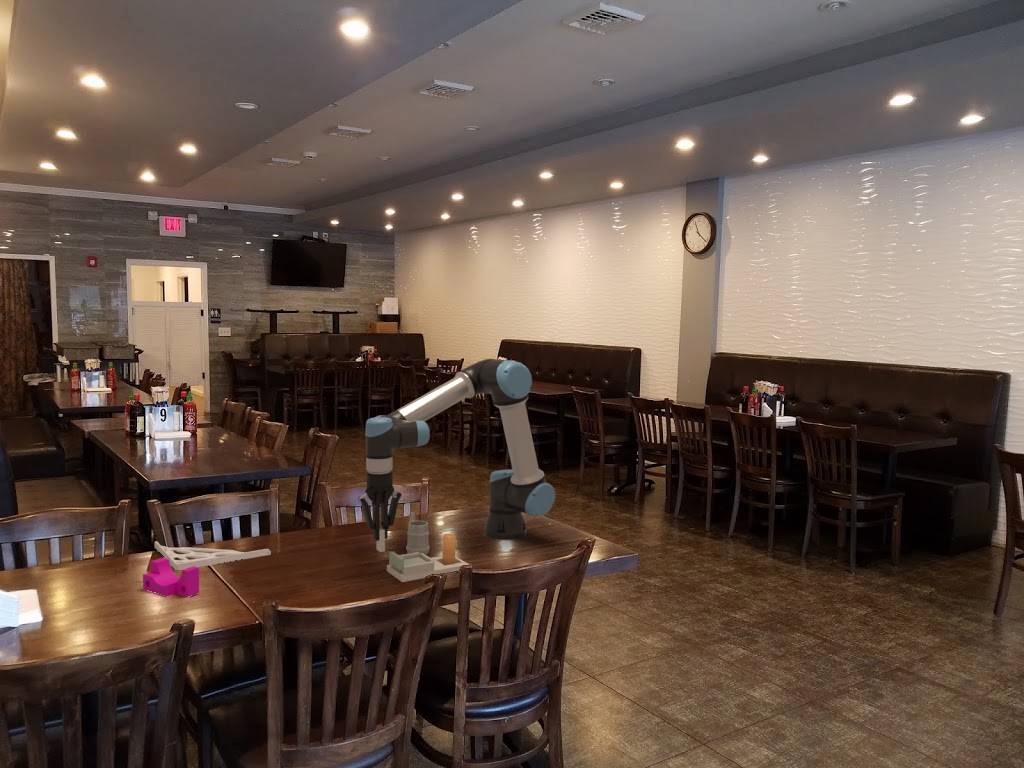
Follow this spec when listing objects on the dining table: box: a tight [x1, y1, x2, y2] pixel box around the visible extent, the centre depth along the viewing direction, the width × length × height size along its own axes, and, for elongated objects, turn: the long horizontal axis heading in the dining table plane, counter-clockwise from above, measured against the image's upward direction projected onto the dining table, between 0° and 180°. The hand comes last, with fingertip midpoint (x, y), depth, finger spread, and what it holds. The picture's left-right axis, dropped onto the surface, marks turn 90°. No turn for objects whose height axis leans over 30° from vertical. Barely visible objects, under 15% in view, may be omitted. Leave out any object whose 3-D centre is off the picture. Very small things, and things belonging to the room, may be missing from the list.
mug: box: [405, 511, 431, 556], centre depth 245 cm, size 8×12×12 cm, turn 27°
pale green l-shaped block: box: [388, 551, 426, 573], centre depth 223 cm, size 10×8×4 cm
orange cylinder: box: [441, 533, 457, 565], centre depth 230 cm, size 4×4×10 cm
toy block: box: [142, 557, 200, 598], centre depth 205 cm, size 15×6×8 cm, turn 61°
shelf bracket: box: [154, 540, 272, 571], centre depth 241 cm, size 28×28×3 cm
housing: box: [386, 552, 470, 583], centre depth 226 cm, size 22×11×4 cm, turn 123°
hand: (380, 550), depth 219 cm, fingers closed
